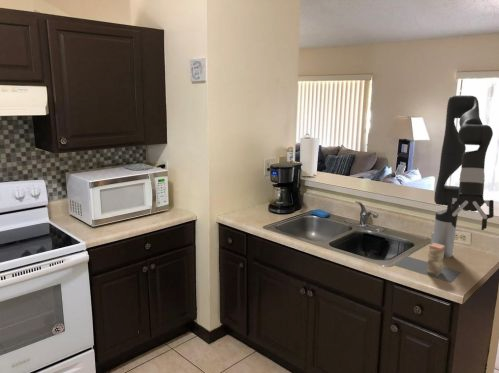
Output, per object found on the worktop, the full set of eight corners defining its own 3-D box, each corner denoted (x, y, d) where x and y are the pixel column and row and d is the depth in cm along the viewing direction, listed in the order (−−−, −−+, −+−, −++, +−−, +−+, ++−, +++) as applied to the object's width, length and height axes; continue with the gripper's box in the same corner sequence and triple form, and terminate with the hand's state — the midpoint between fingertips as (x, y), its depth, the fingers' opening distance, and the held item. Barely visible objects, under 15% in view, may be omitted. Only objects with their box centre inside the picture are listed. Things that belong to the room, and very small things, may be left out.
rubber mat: (393, 266, 182) (393, 265, 182) (406, 257, 192) (406, 256, 192) (451, 284, 166) (451, 282, 166) (462, 273, 176) (462, 271, 176)
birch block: (426, 272, 175) (429, 245, 172) (430, 269, 178) (433, 242, 176) (437, 275, 172) (441, 248, 169) (441, 272, 175) (444, 245, 173)
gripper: (494, 184, 144) (491, 230, 143) (449, 181, 150) (445, 226, 150) (496, 182, 137) (493, 231, 136) (448, 179, 143) (445, 226, 143)
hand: (468, 228), depth 143 cm, fingers open, 8 cm apart
